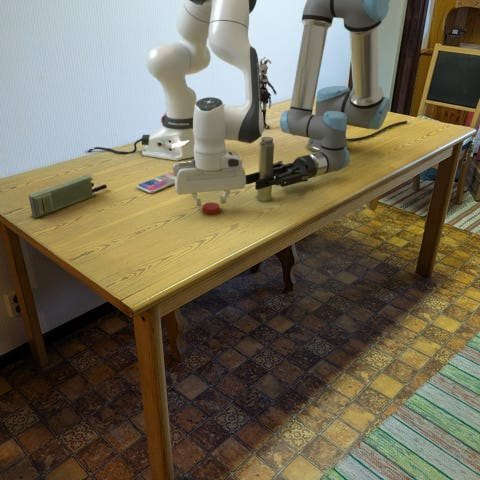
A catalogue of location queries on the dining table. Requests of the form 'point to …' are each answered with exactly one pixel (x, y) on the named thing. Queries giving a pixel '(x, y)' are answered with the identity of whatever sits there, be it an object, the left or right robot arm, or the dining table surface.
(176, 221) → the dining table surface
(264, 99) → the figurine
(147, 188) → the smartphone
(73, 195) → the handheld radio
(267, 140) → the olive cylindrical rod
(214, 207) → the lid
